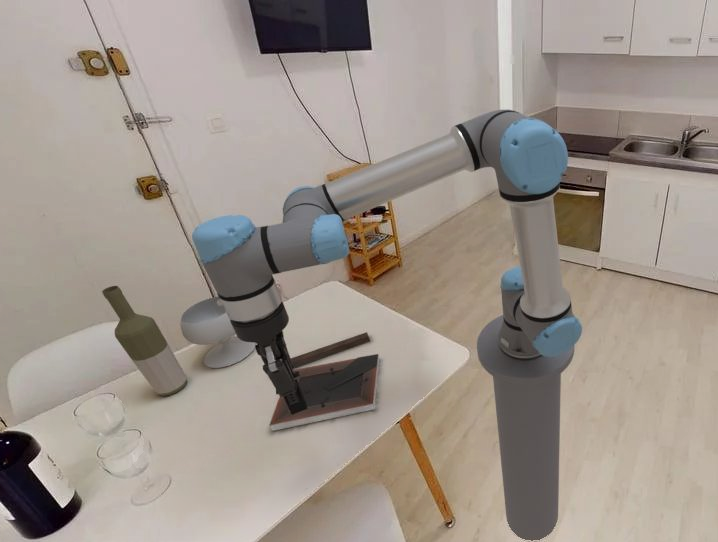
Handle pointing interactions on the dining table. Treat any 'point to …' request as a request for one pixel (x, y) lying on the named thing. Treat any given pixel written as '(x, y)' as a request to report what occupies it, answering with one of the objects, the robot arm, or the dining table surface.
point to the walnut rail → (330, 350)
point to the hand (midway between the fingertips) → (299, 408)
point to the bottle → (146, 346)
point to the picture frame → (332, 391)
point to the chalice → (214, 333)
